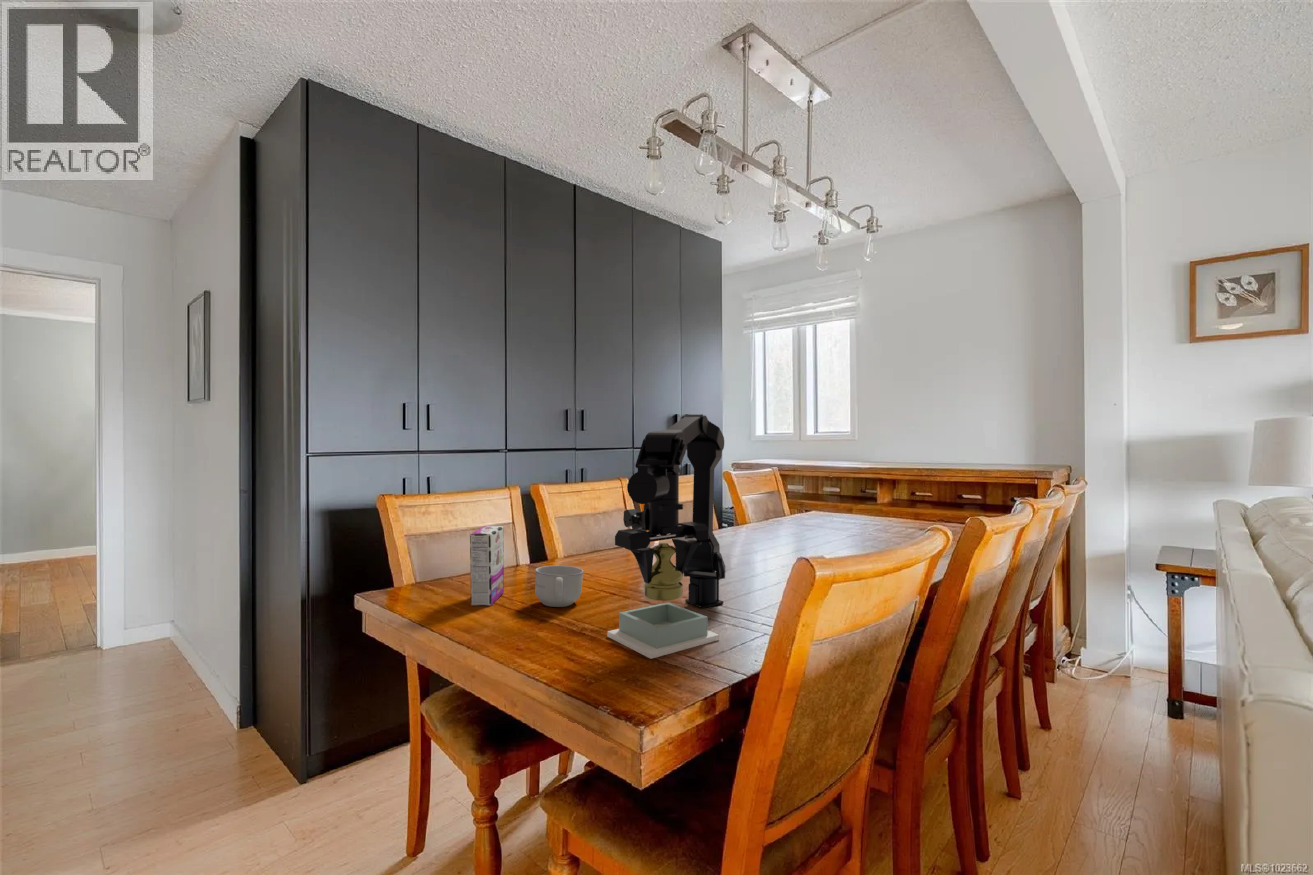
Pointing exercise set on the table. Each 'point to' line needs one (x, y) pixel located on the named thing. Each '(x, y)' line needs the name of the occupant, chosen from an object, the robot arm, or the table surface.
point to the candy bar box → (486, 565)
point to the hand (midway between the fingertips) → (663, 580)
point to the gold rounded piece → (664, 575)
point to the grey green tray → (662, 630)
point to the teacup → (558, 585)
